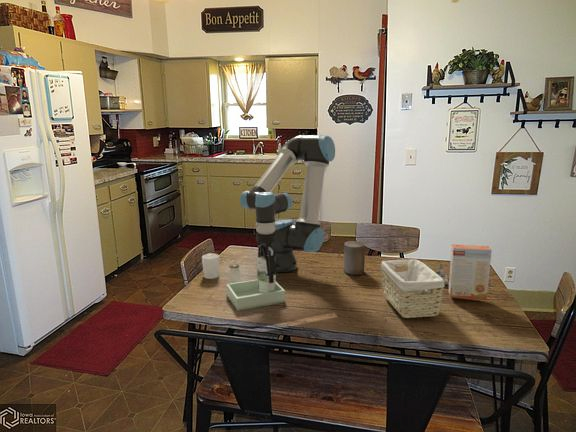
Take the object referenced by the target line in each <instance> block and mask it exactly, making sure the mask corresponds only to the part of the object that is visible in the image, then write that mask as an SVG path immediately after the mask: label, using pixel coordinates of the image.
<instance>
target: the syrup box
mask: <svg viewBox="0 0 576 432" xmlns="http://www.w3.org/2000/svg"><path fill="white" fill-rule="evenodd" d="M256 271H257V273H256V275H257V278H256V280H257V279H258V292H259V293H268V292H274V291H275V290H276V282H277V281H276V278H277V277H276V275H277V274H276V275H274V290H270V291H267V276H266V274H268V272H267V266H266V259H265V258H264V256H260V257H259V258H258V257H257V258H256Z"/></svg>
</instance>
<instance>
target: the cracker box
mask: <svg viewBox="0 0 576 432" xmlns="http://www.w3.org/2000/svg"><path fill="white" fill-rule="evenodd" d="M450 250H451V251H450V252H451V253H450V264H449V265H450V266H449V280H448V281H449V282H448V284H449V285H448V294H449V297H450V298H459V299H460V298H461V299H474V300H484V301H485V300H486V301H487V300H488V291H489V281H490V270H491V259H492V253H493V252H492V251H493V250H492V249H491V247H489V245H488V246H487V245H471V244H470V245H469V244H453V243H452V244H451V249H450Z"/></svg>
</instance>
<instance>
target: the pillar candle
mask: <svg viewBox="0 0 576 432" xmlns="http://www.w3.org/2000/svg"><path fill="white" fill-rule="evenodd" d="M343 252H344V254H343V271H344V272H345V273H346V274H348V275H362V274H364V273H365V258H366V255H365V254H366V244H365V242H363V241H358V240H351V241H350V240H349V241H346V242H344V251H343Z"/></svg>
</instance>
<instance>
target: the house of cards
mask: <svg viewBox="0 0 576 432" xmlns="http://www.w3.org/2000/svg"><path fill="white" fill-rule="evenodd" d="M435 273H436V274H438V275H439V276H440V277H441V278H442V279H443V280H444V284H445V285H448V286H449V280H448V279H447V278H448V275H447V274H446V273H444V267H443V264H442V265H439V267H438V270H436V271H435Z"/></svg>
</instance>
